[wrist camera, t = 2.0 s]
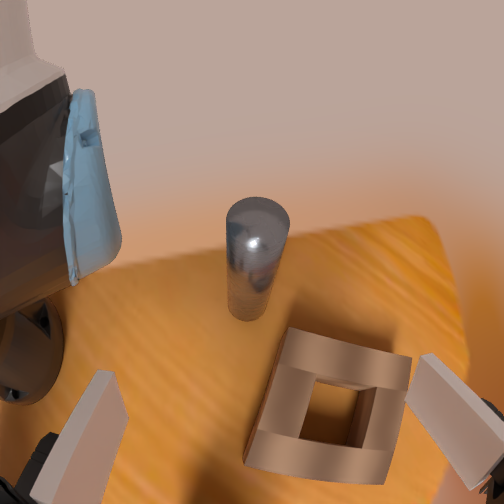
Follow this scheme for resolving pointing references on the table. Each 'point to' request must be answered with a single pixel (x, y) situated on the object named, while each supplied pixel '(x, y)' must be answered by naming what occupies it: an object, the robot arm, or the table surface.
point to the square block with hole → (297, 400)
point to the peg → (253, 254)
